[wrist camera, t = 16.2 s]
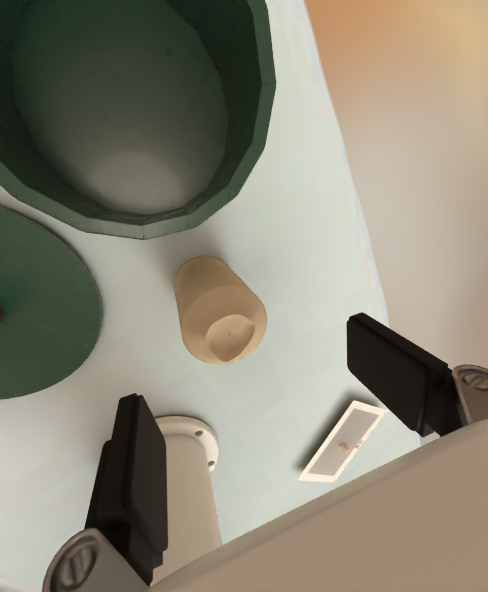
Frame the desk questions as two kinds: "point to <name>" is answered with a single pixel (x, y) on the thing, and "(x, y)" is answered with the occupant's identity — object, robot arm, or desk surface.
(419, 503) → the robot arm
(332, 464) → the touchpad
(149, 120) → the tin
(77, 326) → the tin lid
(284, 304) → the desk surface
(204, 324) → the candle
